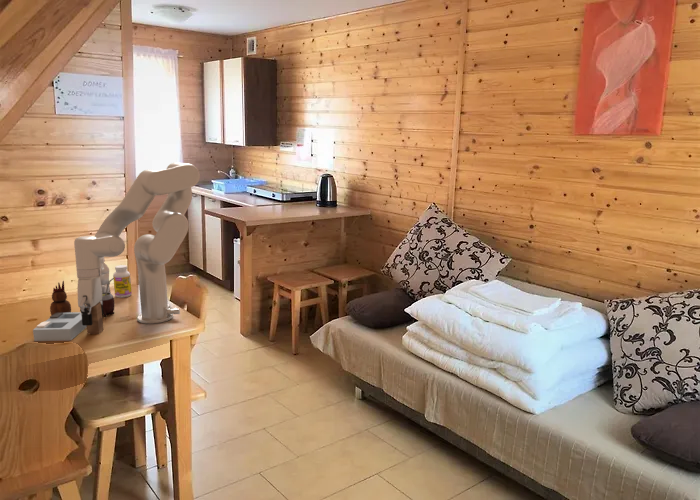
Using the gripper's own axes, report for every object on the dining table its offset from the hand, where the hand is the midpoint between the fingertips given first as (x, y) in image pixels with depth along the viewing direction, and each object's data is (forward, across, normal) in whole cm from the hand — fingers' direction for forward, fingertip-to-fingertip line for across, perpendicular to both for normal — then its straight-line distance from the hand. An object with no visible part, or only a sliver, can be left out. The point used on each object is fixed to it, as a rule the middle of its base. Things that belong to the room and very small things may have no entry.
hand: (93, 320), depth 197 cm
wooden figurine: (+4, -13, -17) cm, 22 cm away
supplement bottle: (+4, -44, -5) cm, 45 cm away
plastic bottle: (+4, -30, -8) cm, 32 cm away
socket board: (+4, -1, -11) cm, 12 cm away
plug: (+4, 0, 0) cm, 4 cm away
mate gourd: (+4, -19, -3) cm, 20 cm away
